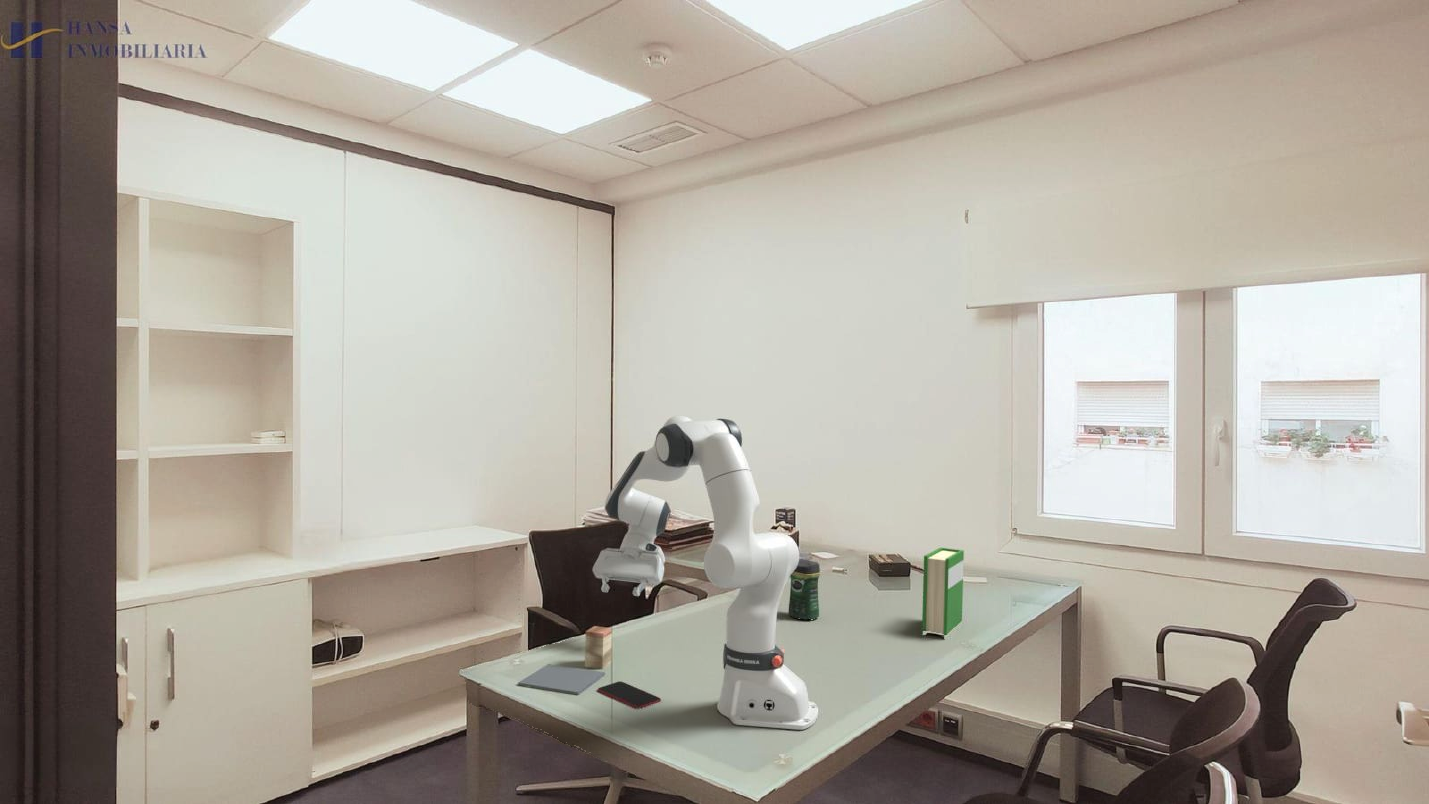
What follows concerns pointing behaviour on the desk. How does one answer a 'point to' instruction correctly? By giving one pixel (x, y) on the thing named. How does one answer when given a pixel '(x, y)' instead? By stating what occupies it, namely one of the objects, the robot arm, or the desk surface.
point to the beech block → (598, 647)
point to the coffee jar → (804, 590)
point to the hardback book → (942, 590)
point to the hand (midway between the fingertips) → (619, 593)
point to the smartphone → (629, 694)
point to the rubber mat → (562, 679)
